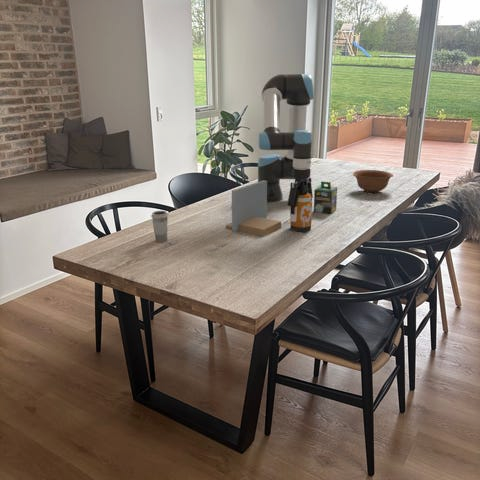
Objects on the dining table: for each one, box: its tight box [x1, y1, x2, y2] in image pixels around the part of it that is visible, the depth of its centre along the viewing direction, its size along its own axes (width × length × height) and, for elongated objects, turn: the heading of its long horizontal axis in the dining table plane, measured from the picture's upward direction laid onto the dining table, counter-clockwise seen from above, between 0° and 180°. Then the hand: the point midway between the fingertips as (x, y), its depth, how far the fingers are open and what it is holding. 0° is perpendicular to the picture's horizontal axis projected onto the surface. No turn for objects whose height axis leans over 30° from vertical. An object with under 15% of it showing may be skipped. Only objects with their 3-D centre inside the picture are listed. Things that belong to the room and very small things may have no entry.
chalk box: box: [313, 181, 338, 215], centre depth 239 cm, size 9×9×15 cm
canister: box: [289, 186, 313, 232], centre depth 212 cm, size 9×11×20 cm
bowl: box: [352, 169, 394, 195], centre depth 275 cm, size 22×22×11 cm
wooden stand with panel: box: [225, 180, 282, 237], centre depth 216 cm, size 20×24×18 cm
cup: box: [150, 210, 169, 243], centre depth 199 cm, size 7×7×12 cm
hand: (299, 218), depth 214 cm, fingers open, 10 cm apart
